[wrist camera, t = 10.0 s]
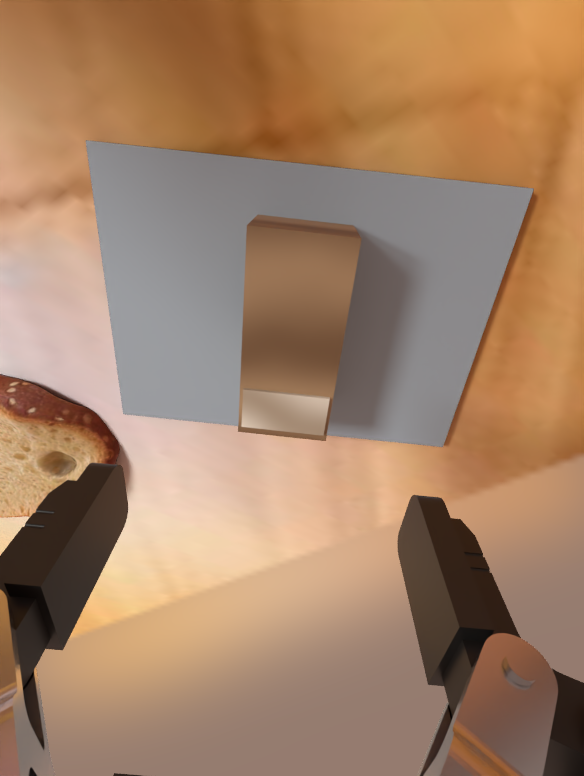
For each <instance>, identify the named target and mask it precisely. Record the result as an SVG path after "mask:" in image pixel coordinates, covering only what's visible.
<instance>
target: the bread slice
mask: <svg viewBox="0 0 584 776" xmlns="http://www.w3.org/2000/svg"><path fill="white" fill-rule="evenodd" d="M119 451H120V448H119V444H118V442H117V440H116V439H115V437H114V436H113V435H112V433H111V432H110V430H109V429H108V428H107V426H106V425H105V423H104V422H103V421H102V420H101V419H100V417H99V416H98V415H97V414H96V413H95V412H93V411H92V410H91V409H89V408H87V407H84V406H79V405H76V404H73V403H70V402H68V401H65V400H63V399H61V398H59V397H56V396H54V395H53V394H51V393H49V392H48V391H46V390H44V389H43V388H41V387H39V386H37V385H34V384H32V383H29V382H26V381H23V380H20V379H17V378H14V377H10V376H5V375H1V374H0V517H22V516H29V517H31V515H32V514H33V513H35V512H36V509H37V508H38V506H39V505H40V504H41V502H42V501H43V500H44V499H45V497H46V496H47V495H48V493H50V492H51V491H52V490H54V489H55V488H57V487H58V486H59V485H61V484H62V483H64V482H65V481H66V480H74V481H77V480H78V478H79V477H80V476H81V474H82V473H83V471H84V470H85V469H86V467H87V466H88V465H89V464H90V463H103V464H113V465H115V463H116V460H117V457H118V454H119Z"/></svg>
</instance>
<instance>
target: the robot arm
mask: <svg viewBox="0 0 584 776" xmlns="http://www.w3.org/2000/svg"><path fill="white" fill-rule="evenodd" d="M127 514H128V501H127V494H126V487H125V480H124V473H123V468H122V466H120V465H113V464H103V463H90V464H89V465H88V466H87V467H86V469H85V470H84V471H83V473H82V474H81V476H80V477H79V478H78V480H77V481H74V480H66V481H65V482H64V483H62V484H61V485H59V486H58V487H57V488H55V489H54V490H52V491H51V492H50V493H48V495H47V496H46V497H45V499H44V500H43V501H42V502H41V504H40V505H39V506H38V508H37V509H36V512H35V513H33V514H32V515H31V517H30V518H29V519H28V521H27V522H26V523H25V527H22V528H21V530H20V531H19V532H18V534H17V535H16V536H15V537H14V539H13V540H12V541H11V543H10V544H9V545H8V546H7V548H6V549H5V550H4V552H3V553H2V554H1V556H0V776H55V772H54V769H53V765H52V761H51V757H50V752H49V746H48V739H47V733H46V727H45V720H44V714H43V707H42V700H41V695H40V688H39V681H38V675H37V669H36V665H37V663H38V661H39V660H40V657H41V656H42V654H43V652H44V650H45V649H55V650H63V649H64V647H65V645H66V643H67V641H68V639H69V637H70V635H71V633H72V631H73V629H74V627H75V625H76V623H77V621H78V618H79V616H80V614H81V612H82V610H83V608H84V606H85V604H86V602H87V600H88V598H89V596H90V594H91V592H92V590H93V588H94V586H95V584H96V582H97V580H98V578H99V576H100V574H101V572H102V570H103V568H104V566H105V564H106V562H107V560H108V558H109V556H110V554H111V552H112V550H113V548H114V546H115V544H116V542H117V540H118V538H119V536H120V534H121V532H122V530H123V528H124V525H125V522H126V519H127ZM398 555H399V559H400V564H401V568H402V572H403V577H404V581H405V585H406V590H407V594H408V599H409V603H410V607H411V612H412V616H413V620H414V625H415V629H416V634H417V638H418V642H419V647H420V651H421V655H422V660H423V664H424V668H425V673H426V677H427V681H428V684H429V685H438V686H444V687H445V690H446V694H447V698H448V703H447V704H446V706H445V709H444V711H443V713H442V716H441V718H440V721H439V723H438V726H437V728H436V731H435V733H434V736H433V738H432V741H431V743H430V746H429V748H428V751H427V753H426V755H425V758H424V760H423V763H422V765H421V768H420V770H419V773H418V775H417V776H584V683H582V682H580V681H578V680H575V679H573V678H570V677H568V676H566V675H563V674H561V673H559V672H557V671H555V670H554V669H552V668H551V667H550V665H549V664H548V662H547V661H546V659H545V658H544V657H543V656H542V655H541V654H540V652H539V651H538V650H536V649H535V648H534V647H533V646H532V645H530V644H529V643H528V642H526V641H525V640H523V639H521V637H520V636H519V634H518V632H517V630H516V627H515V625H514V623H513V621H512V618H511V616H510V614H509V612H508V609H507V607H506V605H505V602H504V600H503V598H502V596H501V594H500V591H499V590H498V587H497V585H496V582H495V580H494V578H493V575H492V573H490V571H489V566H488V564H487V562H486V560H485V558H484V557H483V553H482V551H481V548H480V546H479V544H478V542H477V540H476V537H475V535H474V534H473V533H472V532H471V531H470V530H469V529H468V527H467V526H466V525H465V524H464V523H463V522H462V521H461V519H452V518H450V515H449V513H448V510H447V508H446V505H445V503H444V501H443V499H441V498H438V497H428V496H418V495H413V496H412V497H411V499H410V501H409V504H408V507H407V510H406V513H405V516H404V519H403V522H402V525H401V528H400V531H399V535H398ZM114 776H140V775H127V774H115V773H114Z"/></svg>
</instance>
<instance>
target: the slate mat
mask: <svg viewBox="0 0 584 776" xmlns="http://www.w3.org/2000/svg"><path fill="white" fill-rule="evenodd" d="M86 147H87V154H88V161H89V168H90V176H91V183H92V190H93V197H94V205H95V212H96V219H97V226H98V234H99V241H100V248H101V255H102V263H103V270H104V277H105V284H106V292H107V299H108V306H109V313H110V321H111V328H112V335H113V342H114V350H115V357H116V364H117V371H118V379H119V386H120V393H121V401H122V408H123V414H127V415H136V416H146V417H156V418H166V419H175V420H185V421H195V422H204V423H214V424H224V425H234V426H238V422H239V398H240V374H241V351H242V327H243V303H244V279H245V255H246V232H247V225H248V224H249V223H250V222H251V221H252V220H253V219H254V218H255V217H256V216H257V215H258V214H259V215H268V216H276V217H285V218H294V219H302V220H311V221H320V222H329V223H337V224H346V225H354V227H355V229H356V230H357V232H358V233H359V235H360V237H361V238H362V239H361V245H360V251H359V256H358V262H357V267H356V273H355V279H354V284H353V290H352V296H351V301H350V307H349V312H348V318H347V324H346V329H345V335H344V341H343V346H342V352H341V357H340V363H339V369H338V374H337V380H336V386H335V391H334V397H333V402H332V408H331V414H330V419H329V425H328V430H327V435H331V436H340V437H350V438H360V439H369V440H379V441H389V442H399V443H408V444H418V445H428V446H437V447H443V445H444V442H445V440H446V437H447V434H448V431H449V428H450V425H451V423H452V420H453V417H454V414H455V411H456V408H457V406H458V403H459V400H460V397H461V394H462V391H463V389H464V386H465V383H466V380H467V377H468V374H469V372H470V369H471V366H472V363H473V360H474V357H475V355H476V352H477V349H478V346H479V343H480V340H481V338H482V335H483V332H484V329H485V326H486V323H487V321H488V318H489V315H490V312H491V309H492V306H493V304H494V301H495V298H496V295H497V292H498V289H499V286H500V284H501V281H502V278H503V275H504V272H505V269H506V267H507V264H508V261H509V258H510V255H511V252H512V250H513V247H514V244H515V241H516V238H517V235H518V233H519V230H520V227H521V224H522V221H523V218H524V216H525V213H526V210H527V207H528V204H529V201H530V199H531V196H532V193H533V190H534V189H533V188H524V187H515V186H506V185H496V184H487V183H478V182H468V181H459V180H450V179H441V178H431V177H422V176H413V175H404V174H394V173H385V172H376V171H366V170H357V169H348V168H339V167H329V166H320V165H311V164H301V163H292V162H283V161H274V160H264V159H255V158H246V157H237V156H227V155H218V154H209V153H199V152H190V151H181V150H172V149H162V148H153V147H144V146H135V145H125V144H116V143H107V142H97V141H87V140H86Z"/></svg>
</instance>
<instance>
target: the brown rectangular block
mask: <svg viewBox="0 0 584 776" xmlns="http://www.w3.org/2000/svg"><path fill="white" fill-rule="evenodd" d="M361 239H362V238H361V237H360V235H359V233H358V232H357V230H356V229H355V227H354V225H346V224H337V223H329V222H320V221H311V220H302V219H294V218H285V217H276V216H268V215H259V214H258V215H257V216H256V217H255V218H254V219H253V220H252V221H251V222H250V223H249V224H248V225H247V232H246V255H245V279H244V303H243V327H242V351H241V374H240V398H239V422H238V432H247V433H256V434H265V435H275V436H284V437H293V438H302V439H311V440H321V441H326V436H327V430H328V425H329V419H330V414H331V408H332V402H333V397H334V391H335V386H336V380H337V374H338V369H339V363H340V357H341V352H342V346H343V341H344V335H345V329H346V324H347V318H348V312H349V307H350V301H351V296H352V290H353V284H354V279H355V273H356V267H357V262H358V256H359V251H360V245H361Z"/></svg>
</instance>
